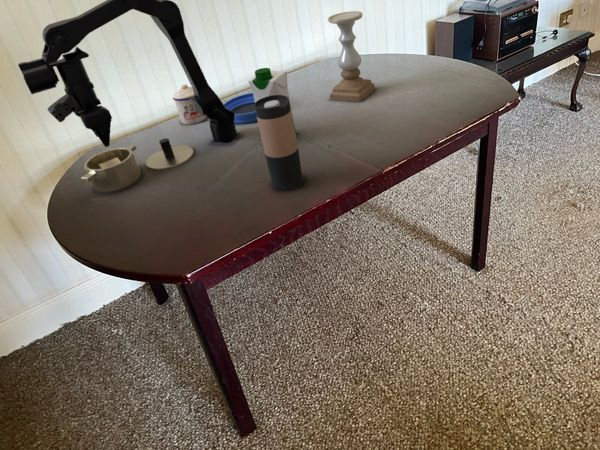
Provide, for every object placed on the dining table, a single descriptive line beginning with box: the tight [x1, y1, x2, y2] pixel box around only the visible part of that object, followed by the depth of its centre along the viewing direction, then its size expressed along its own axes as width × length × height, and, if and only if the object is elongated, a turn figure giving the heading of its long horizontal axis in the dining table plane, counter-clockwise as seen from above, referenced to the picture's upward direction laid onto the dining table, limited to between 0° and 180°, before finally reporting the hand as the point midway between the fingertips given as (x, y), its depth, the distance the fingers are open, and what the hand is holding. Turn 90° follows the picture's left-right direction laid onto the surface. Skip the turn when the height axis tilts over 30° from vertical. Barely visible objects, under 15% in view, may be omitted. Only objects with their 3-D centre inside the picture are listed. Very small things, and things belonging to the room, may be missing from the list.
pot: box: [81, 144, 142, 193], centre depth 123 cm, size 12×18×7 cm
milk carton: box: [248, 67, 297, 135], centre depth 125 cm, size 9×9×20 cm
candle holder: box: [327, 10, 376, 103], centre depth 143 cm, size 11×11×24 cm
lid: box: [145, 137, 195, 171], centre depth 129 cm, size 13×13×6 cm
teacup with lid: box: [172, 83, 207, 125], centre depth 151 cm, size 12×9×12 cm
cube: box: [99, 158, 121, 169], centre depth 123 cm, size 5×5×5 cm
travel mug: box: [255, 95, 304, 191], centre depth 104 cm, size 8×8×20 cm
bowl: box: [223, 92, 258, 124], centre depth 150 cm, size 18×18×4 cm
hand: (103, 141), depth 119 cm, fingers open, 9 cm apart
